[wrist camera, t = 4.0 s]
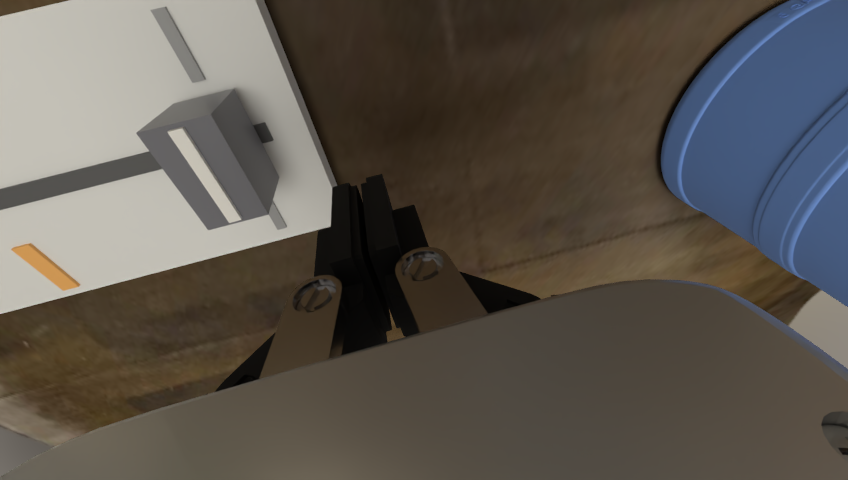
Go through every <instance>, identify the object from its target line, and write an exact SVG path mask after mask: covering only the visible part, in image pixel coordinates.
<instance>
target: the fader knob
mask: <svg viewBox="0 0 848 480" xmlns="http://www.w3.org/2000/svg"><path fill="white" fill-rule="evenodd" d="M136 134H137V135H138V136H139V138H140V139H141V141H142V142H143V143H144V145H145V146H146V147H147V149H148V150H149V151H150V153H151V154H152V155H153V157H154V158H155V159H156V161H157V162H158V163H159V165H160V166H161V167H162V169H163V170H164V171H165V173H166V174H167V176H168V177H169V178H170V180H171V181H172V182H173V184H174V185H175V186H176V188H177V189H178V190H179V192H180V193H181V194H182V196H183V197H184V198H185V200H186V201H187V202H188V204H189V205H190V206H191V208H192V209H193V211H194V212H195V213H196V215H197V216H198V217H199V219H200V220H201V221H202V223H203V224H204V225H205V227H206V228H207V229H208V230H212V229H216V228H219V227H223V226H227V225H231V224H235V223H238V222H242V221H246V220H250V219H254V218H257V217H261V216H265V215H269V211H270V208H271V205H272V201H273V198H274V194H275V191H276V188H277V184H278V181H279V175H278V173H277V171H276V169H275V167H274V165H273V163H272V161H271V160H270V158H269V156H268V154H267V152H266V150H265V148H264V146H263V144H262V142H261V140H260V138H259V136H258V134H257V132H256V130H255V128H254V126H253V124H252V122H251V120H250V118H249V116H248V114H247V112H246V111H245V109H244V107H243V105H242V103H241V101H240V99H239V97H238V95H237V93H236V91H235V89H230V90H226V91H222V92H218V93H214V94H210V95H206V96H202V97H197V98H193V99H189V100H185V101H181V102H177V103H173V104H172V105H171V106H170V107H168V108H167V109H166V110H165V111H163V112H162V113H161V114H159V115H158V116H157V117H156V118H154V119H153V120H152V121H151V122H149V123H148V124H147V125H145V126H144V127H143V128H142V129H140V130H139V131H138V132H137V133H136Z"/></svg>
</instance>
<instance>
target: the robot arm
mask: <svg viewBox="0 0 848 480" xmlns="http://www.w3.org/2000/svg"><path fill="white" fill-rule="evenodd" d="M366 181H367V183H363V184H361V188H362V198H363V202H362V199H361V196H360V193H359V190H358V188H357V186H352V187H351V186H350V184H349V183H346V184H342V185H338V186H335V187H332V207H331V227H329V228H326V229H322V230H319V231H318V238H317V249H316V260H315V271H314V277H312V278H310V279H308V280H306V281H304V282H302V283H301V284H300V285H298V286H297V287H296V288H295V289H294V290H293V291H292V292H291V294H290V295H289V297H288V299H287V302H286V305H285V307H284V310H283V313H282V316H281V319H280V321H279V324H278V327H277V330H276V332H275V333H274V334H273V335H272V336H271V337H270V338H269V339H268V340H267V341H266V342H265V343H264V344H263V345H262V346H261V347H259V348H258V349H257V350H256V351H255V352H254V353H253V354H252V355H251V356H250V357H249V358H248V359H247V360H246V361H245V362H244V363H243V364H241V365H240V366H239V367H238V368H237V369H236V370H235V371H234V372H233V373H232V374H231V375H230V376H229V377H228V378H227V379H226V380H225V381H224V382H223V383H222V384H221V385H220V386H219V387H218V388H217V390H216V391H215V392H214V393H210V394H208V393H207V394H205V395H203V396H200V397H197V398H193V399H190V400H186V401H183V402H180V403H176V404H173V405H170V406H166V407H163V408H159V409H156V410H153V411H150V412H147V413H144V414H141V415H138V416H135V417H132V418H129V419H126V420H122V421H119V422H116V423H113V424H110V425H107V426H104V427H101V428H98V429H96V430H93V431H90V432H88V433H85V434H83V435H80V436H78V437H75V438H73V439H70V440H68V441H66V442H64V443H62V444H60V445H58V446H56V447H54V448H52V449H50V450H47V451H45V452H43V453H41V454H39V455H37V456H35V457H33V458H32V459H30V460H28V461H26V462H25V463H23V464H21V465H20V466H18V467H16V468H14V469H13V470H11V471H9V472H8V473H6V474H4V475H3V476H1V477H0V480H848V369H847V368H846V367H844V366H843V365H842V364H840V363H839V362H838V361H836V360H835V359H834V358H832V357H831V356H829V355H828V354H827V353H825V352H824V351H823V350H821V349H820V348H819V347H817V346H816V345H814V344H813V343H812V342H810V341H809V340H807V339H806V338H804V337H803V336H802V335H800V334H799V333H797V332H796V331H794V330H793V329H792V328H790V327H789V326H787V325H786V324H784V323H782V322H781V321H779V320H778V319H776V318H775V317H773V316H772V315H770V314H769V313H767V312H765V311H764V310H762V309H761V308H759V307H757V306H756V305H754V304H752V303H751V302H749V301H747V300H745V299H743V298H741V297H739V296H737V295H736V294H733V293H731V292H729V291H726V290H724V289H722V288H718V287H715V286H711V285H708V284H703V283H697V282H691V281H681V280H651V279H647V280H635V281H622V282H616V283H610V284H604V285H598V286H593V287H589V288H585V289H581V290H577V291H572V292H568V293H564V294H560V295H551V297H548V298H544V299H540V298H539V297H537V296H534V295H532V294H530V293H527V292H523V291H520V290H517V289H514V288H511V287H507V286H504V285H501V284H498V283H494V282H491V281H488V280H485V279H482V278H478V277H475V276H472V275H469V274H466V273H462V272H459V271H458V269H457V268H456V266H455V265H454V263H453V262H452V260H451V259H450V257H449V256H448V255H447V254H446V253H445V252H444V251H443V250H440V249H438V248H434V247H429V246H428V243H427V241H426V238H425V235H424V232H423V229H422V226H421V223H420V220H419V217H418V214H417V211H416V208H415V206H414V205H411V206H407V207H404V208H400V209H396V210H392V206H391V203H390V199H389V196H388V192H387V189H386V186H385V182H384V179H383V175H382V174H380V175H376V176H372V177H369V178H366ZM389 309H390V312H391V314H392V317H393V320H394V322H395V325H396V327H397V328H400V327H401V330H402V333H403V335H404V336H406V337H404V338H401V339H397V340H394V341H390V342H387V336H386V331H390V330H392V326H391V320H390V313H389Z"/></svg>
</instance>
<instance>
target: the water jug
mask: <svg viewBox="0 0 848 480" xmlns="http://www.w3.org/2000/svg"><path fill="white" fill-rule="evenodd" d="M661 170H662V175H663V178H664V181H665V183H666V185H667V187H668V188H669V190H670V191H671V192H672V193H673V194H674V195H675V196H676V197H677V198H679V199H680V200H682V201H683V202H685V203H686V204H688V205H689V206H691V207H692V208H694V209H696V210H698V211H701V212H704V213H705V214H707V215H708V216H710V217H711V218H713V219H714V220H716V221H717V222H719V223H720V224H722V225H723V226H725V227H727V228H728V229H730V230H731V231H733V232H734V233H736V234H737V235H739V236H740V237H742V238H743V239H745V240H746V241H748V242H749V243H751V244H752V245H754V246H756V247H757V248H758V249H759V250H760V251H761V252H762V253H763V254H764V255H766V256H767V257H768V258H769V259H771V260H772V261H774V262H775V263H777V264H778V265H780V266H781V267H783V268H784V269H786V270H787V271H789V272H791V273H793V274H795V275H796V276H798V277H800V278H802V279H805V280H807V281H809V282H810V283H812V284H813V285H815V286H817V287H818V288H820V289H821V290H823V291H824V292H826V293H827V294H829V295H830V296H832V297H833V298H835V299H836V300H838V301H839V302H841V303H842V304H844V305H846V306H847V307H848V0H789V1H787V2H785V3H783V4H781V5H779V6H777V7H775V8H773V9H772V10H770V11H768V12H767V13H765V14H764V15H762V16H760V17H759V18H757V19H756V20H755V21H753V22H752V23H750V24H749V25H748V26H746V27H745V28H744V29H743V30H741V31H740V32H739V33H738V34H736V35H735V36H734V37H733V38H732V39H731V40H730V41H728V42H727V43H726V44H725V45H724V46H723V47H722V48H721V49H720V50H719V51H718V52H717V53H716V54H715V55H714V56H713V57H712V58H711V59H710V61H709V62H708V63H707V64H706V65H705V66H704V67H703V69H702V70H701V71H700V72H699V74H698V75H697V76H696V77H695V79H694V80H693V81H692V83H691V84H690V86H689V87H688V89H687V90H686V92H685V93H684V95H683V96H682V98H681V100H680V102H679V103H678V105H677V107H676V109H675V111H674V113H673V115H672V117H671V119H670V122H669V124H668V127H667V130H666V133H665V136H664V140H663V144H662V151H661Z"/></svg>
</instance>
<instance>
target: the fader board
mask: <svg viewBox="0 0 848 480" xmlns="http://www.w3.org/2000/svg"><path fill="white" fill-rule="evenodd" d="M230 89H235V91H236V93H237V95H238V97H239V99H240V101H241V103H242V105H243V107H244V109H245V111H246V112H247V114H248V116H249V118H250V120H251V122H252V124H253V126H254V128H255V130H256V132H257V134H258V136H259V138H260V140H261V142H262V144H263V146H264V148H265V150H266V152H267V154H268V156H269V158H270V160H271V161H272V163H273V165H274V167H275V169H276V171H277V173H278V175H279V181H278V184H277V188H276V191H275V194H274V198H273V201H272V205H271V208H270V211H269V215H265V216H261V217H257V218H254V219H250V220H246V221H242V222H238V223H235V224H231V225H227V226H223V227H219V228H216V229H212V230H208V229H207V228H206V227H205V225H204V224H203V223H202V221H201V220H200V219H199V217H198V216H197V215H196V213H195V212H194V211H193V209H192V208H191V206H190V205H189V204H188V202H187V201H186V200H185V198H184V197H183V196H182V194H181V193H180V192H179V190H178V189H177V188H176V186H175V185H174V184H173V182H172V181H171V180H170V178H169V177H168V176H167V174H166V173H165V171H164V170H163V169H162V167H161V166H160V165H159V163H158V162H157V161H156V159H155V158H154V157H153V155H152V154H151V153H150V151H149V150H148V149H147V147H146V146H145V145H144V143H143V142H142V141H141V139H140V138H139V136H138V135H137V134H136V133H137V132H138V131H139V130H140V129H142V128H143V127H144V126H145V125H147V124H148V123H149V122H151V121H152V120H153V119H154V118H156V117H157V116H158V115H159V114H161V113H162V112H163V111H165V110H166V109H167V108H168V107H170V106H171V105H172V104H173V103H177V102H181V101H185V100H189V99H193V98H197V97H202V96H206V95H210V94H214V93H218V92H222V91H226V90H230ZM335 186H337V183H336V181H335V178H334V176H333V173H332V171H331V168H330V166H329V163H328V161H327V158H326V156H325V153H324V151H323V148H322V146H321V143H320V140H319V138H318V135H317V133H316V130H315V128H314V125H313V123H312V120H311V118H310V115H309V113H308V110H307V108H306V105H305V103H304V100H303V97H302V95H301V92H300V90H299V87H298V85H297V82H296V80H295V77H294V75H293V72H292V70H291V67H290V65H289V62H288V60H287V57H286V55H285V52H284V49H283V47H282V44H281V42H280V39H279V37H278V34H277V32H276V29H275V27H274V24H273V22H272V19H271V17H270V14H269V12H268V9H267V6H266V4H265V1H264V0H69V1H65V2H61V3H56V4H52V5H48V6H43V7H39V8H35V9H31V10H26V11H22V12H18V13H14V14H9V15H5V16H1V17H0V314H2V313H6V312H9V311H13V310H17V309H21V308H25V307H28V306H32V305H36V304H40V303H43V302H47V301H51V300H55V299H59V298H62V297H66V296H70V295H74V294H77V293H81V292H85V291H89V290H92V289H96V288H100V287H104V286H108V285H111V284H115V283H119V282H123V281H126V280H130V279H134V278H138V277H142V276H145V275H149V274H153V273H157V272H160V271H164V270H168V269H172V268H175V267H179V266H183V265H187V264H191V263H194V262H198V261H202V260H206V259H209V258H213V257H217V256H221V255H225V254H228V253H232V252H236V251H240V250H243V249H247V248H251V247H255V246H258V245H262V244H266V243H270V242H274V241H277V240H281V239H285V238H289V237H292V236H296V235H300V234H304V233H308V232H311V231H315V230H319V229H323V228H326V227H330V226H331V207H332V187H335Z"/></svg>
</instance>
